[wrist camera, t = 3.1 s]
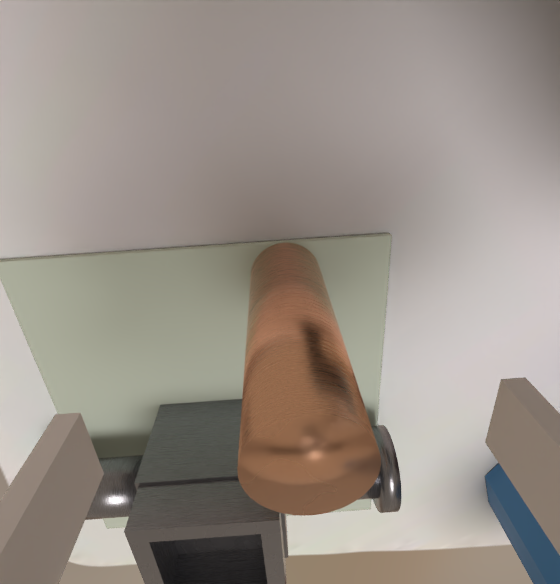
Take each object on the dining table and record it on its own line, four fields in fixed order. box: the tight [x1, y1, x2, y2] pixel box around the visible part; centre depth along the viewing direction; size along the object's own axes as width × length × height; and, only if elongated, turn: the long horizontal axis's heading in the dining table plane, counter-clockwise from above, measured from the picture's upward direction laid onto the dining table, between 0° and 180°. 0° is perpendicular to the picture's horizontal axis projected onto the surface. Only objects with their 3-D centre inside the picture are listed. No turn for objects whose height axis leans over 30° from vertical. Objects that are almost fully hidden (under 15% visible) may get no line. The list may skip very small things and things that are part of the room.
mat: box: [0, 233, 392, 529], centre depth 27 cm, size 24×22×1 cm
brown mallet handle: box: [237, 243, 381, 515], centre depth 17 cm, size 4×4×13 cm
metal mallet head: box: [85, 399, 401, 584], centre depth 25 cm, size 11×22×8 cm, turn 93°
